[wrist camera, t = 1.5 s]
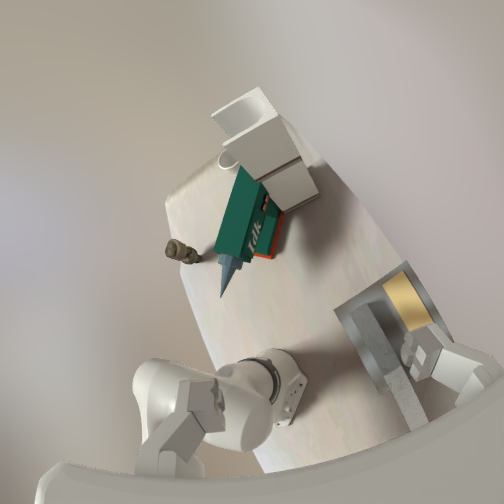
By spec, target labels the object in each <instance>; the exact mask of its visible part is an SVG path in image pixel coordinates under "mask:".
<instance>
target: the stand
mask: <svg viewBox="0 0 504 504" xmlns="http://www.w3.org/2000/svg"><path fill="white" fill-rule="evenodd" d="M364 303H367V305H368V306H369V308H370V310H371V312H372V313H373V315H374V317H375V318H376V320H377V322H378V324H379V325H380V327H381V329H382V331H383V332H384V334H385V336H386V338H387V340H388V341H389V343H390V345H391V347H392V349H393V351H394V352H395V354H396V356H397V358H398V360H399V362H400V364H401V366H402V368H403V369H404V371H405V373H406V375H407V377H408V379H409V378H410V377H412V375H411V374H410V367H408V366H406V365H405V364H404V363H403V361H402V358H401V348H402V345H403V344H404V343H405V340H404V336H405V334H406V332H409V331H412V330H414V329H417V328H419V327H422V326H425V325H427V324H430V323H432V322H434V323H436V324H437V325H438V327H439V328H440V329H441V330H442V331H443V332H444V333H445V335H446V336H447V337H448V338H449V339H450V340H451V341H452V343H455V342H454V341H453V339H452V337H451V335H450V333H449V331H448V329H447V327H446V325H445V323H444V321H443V320H442V318H441V316H440V314H439V312H438V311H437V309H436V307H435V305H434V304H433V302H432V300H431V299H430V297H429V295H428V293H427V292H426V290H425V289H424V287H423V285H422V284H421V282H420V280H419V279H418V277H417V276H416V274H415V273H414V271H413V269H412V268H411V266H410V265H409V263H408V262H407V260H406V261H405V262H403V263H402V264H401V265H399V266H398V267H396V268H395V269H394V270H392V271H391V272H389V273H388V274H387V275H385V276H384V277H382V278H381V279H380V280H378V281H377V282H375V283H374V284H372V285H371V286H369V287H368V288H366V289H365V290H364V291H362V292H361V293H359V294H358V295H356V296H354V297H353V298H351V299H350V300H348V301H347V302H345V303H344V304H342V305H341V306H339V307H337V308H336V309H334V312H335V314H336V315H337V317H338V319H339V321H340V322H341V324H342V326H343V328H344V329H345V331H346V333H347V335H348V337H349V338H350V340H351V342H352V344H353V346H354V347H355V349H356V351H357V353H358V355H359V357H360V358H361V360H362V362H363V364H364V366H365V368H366V370H367V371H368V373H369V375H370V377H371V379H372V381H373V383H374V385H375V387H376V389H377V390H378V392H379V394H380V395H382V394H384V393H386V392H387V391H389V390H390V388H389V386H388V384H387V382H386V380H385V378H384V376H383V374H382V373H381V371H380V369H379V367H378V365H377V363H376V361H375V359H374V358H373V356H372V354H371V352H370V350H369V348H368V347H367V345H366V343H365V341H364V339H363V338H362V336H361V334H360V332H359V330H358V329H357V327H356V325H355V323H354V322H353V320H352V318H351V316H350V315H349V313H350V312H352V311H353V310H355V309H356V308H358V307H360V306H361V305H363V304H364Z"/></svg>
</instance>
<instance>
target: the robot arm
mask: <svg viewBox="0 0 504 504" xmlns="http://www.w3.org/2000/svg"><path fill="white" fill-rule="evenodd" d="M404 340H405V343H404V344H403V345H402V348H401V358H402V361H403V363H404V364H405V365H406V366H408V367H410V374H411V375H412V377H413V378H414V380H415V381H416V382H418V381H420V380H423V379H425V378H428V377H430V376H431V377H432V378H434V379H435V380H437V381H439V382H440V383H442V384H444V385H445V386H447V387H449V388H451V389H452V390H454V391H456V392H457V393H459V396H458V398H457V399H456V401H455V405H456V408H455V409H453V410H451V411H449V412H448V413H446V414H444V415H442V416H440V417H439V418H437V419H435V420H433V421H431V422H429V423H427V424H425V425H423V426H421V427H419V428H417V429H415V430H413V431H410V432H408V433H406V434H404V435H402V436H399V437H397V438H395V439H392V440H390V441H387V442H385V443H382V444H380V445H377V446H374V447H371V448H369V449H366V450H363V451H360V452H357V453H354V454H351V455H348V456H344V457H341V458H337V459H334V460H330V461H326V462H323V463H319V464H314V465H310V466H306V467H301V468H296V469H291V470H285V471H280V472H273V473H267V474H259V475H251V476H240V477H227V478H206V479H205V469H204V465H203V463H202V461H201V460H200V458H199V457H198V456H197V454H196V453H195V451H196V449H197V448H198V446H199V445H200V443H201V441H202V440H203V441H206V442H208V443H210V444H212V445H214V446H217V447H221V448H225V449H229V450H234V451H240V452H249V451H251V450H253V449H255V448H257V447H259V446H260V445H261V444H262V443H263V442H264V441H265V440H266V439H267V438H268V436H269V435H270V433H271V431H272V428H273V427H276V428H279V427H285V426H288V425H289V424H290V422H291V420H292V418H293V416H294V413H295V411H296V409H297V406H298V404H299V402H300V399H301V397H302V395H303V392H304V390H305V387H306V385H307V382H308V379H307V377H306V376H305V375H304V374H303V373H302V372H301V371H300V370H299V368H298V365H297V363H296V362H295V360H294V359H293V358H292V357H291V356H290V355H289V354H288V353H286V352H284V351H282V350H278V349H268V350H265V351H262V352H261V353H259V354H258V355H257V356H256V357H252V358H247V359H244V360H241V361H239V362H237V363H233V364H228V365H225V366H223V367H221V368H220V369H219V370H218V371H217V372H216V373H215V375H212V374H209V373H206V372H202V371H200V370H197V369H194V368H192V367H189V366H187V365H184V364H182V363H179V362H176V361H171V360H165V359H158V358H153V359H149V360H147V361H145V362H144V363H143V364H142V365H141V366H140V367H139V368H138V370H137V371H136V373H135V376H134V379H133V392H134V394H135V397H136V399H137V402H138V404H139V408H140V413H141V420H142V445H141V446H140V447H139V449H138V454H137V460H136V466H135V473H134V475H131V474H125V473H118V472H112V471H106V470H101V469H96V468H92V467H87V466H83V465H79V464H75V463H71V462H67V461H61V462H59V463H58V464H56V465H55V466H53V467H52V468H51V469H50V470H49V471H47V472H46V473H45V474H44V475H43V476H42V477H41V479H40V481H39V484H38V487H37V492H36V497H35V503H34V504H504V369H503V368H502V366H501V365H500V364H499V363H498V362H497V360H496V359H495V358H494V357H493V356H491V355H488V354H485V353H483V352H480V351H477V350H475V349H472V348H469V347H467V346H464V345H461V344H459V343H456V342H455V343H452V341H451V340H450V339H449V338H448V337H447V336H446V335H445V333H444V332H443V331H442V330H441V329H440V328H439V327H438V325H437V324H436V323H434V322H432V323H430V324H427V325H425V326H422V327H419V328H417V329H414V330H412V331H409V332H406V334H405V336H404ZM300 383H301V384H302V386H300ZM291 410H292V411H291ZM278 423H279V424H280V425H278Z"/></svg>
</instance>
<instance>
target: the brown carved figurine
mask: <svg viewBox="0 0 504 504" xmlns="http://www.w3.org/2000/svg"><path fill="white" fill-rule="evenodd" d="M165 253H166V256H167V257H169V258H172V259H175V260H178V261H182V262H183V263H185V264H193V263H199V262H200V261H201V256H200V255H198V254H197V251H196V250H195V249H193V248H192V247H189V246H187V247H186V245H185V244H183V243H181V242H180V241H178V240H176V239H171V240H170V241H169V242H168V244H167V247H166V250H165Z"/></svg>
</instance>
